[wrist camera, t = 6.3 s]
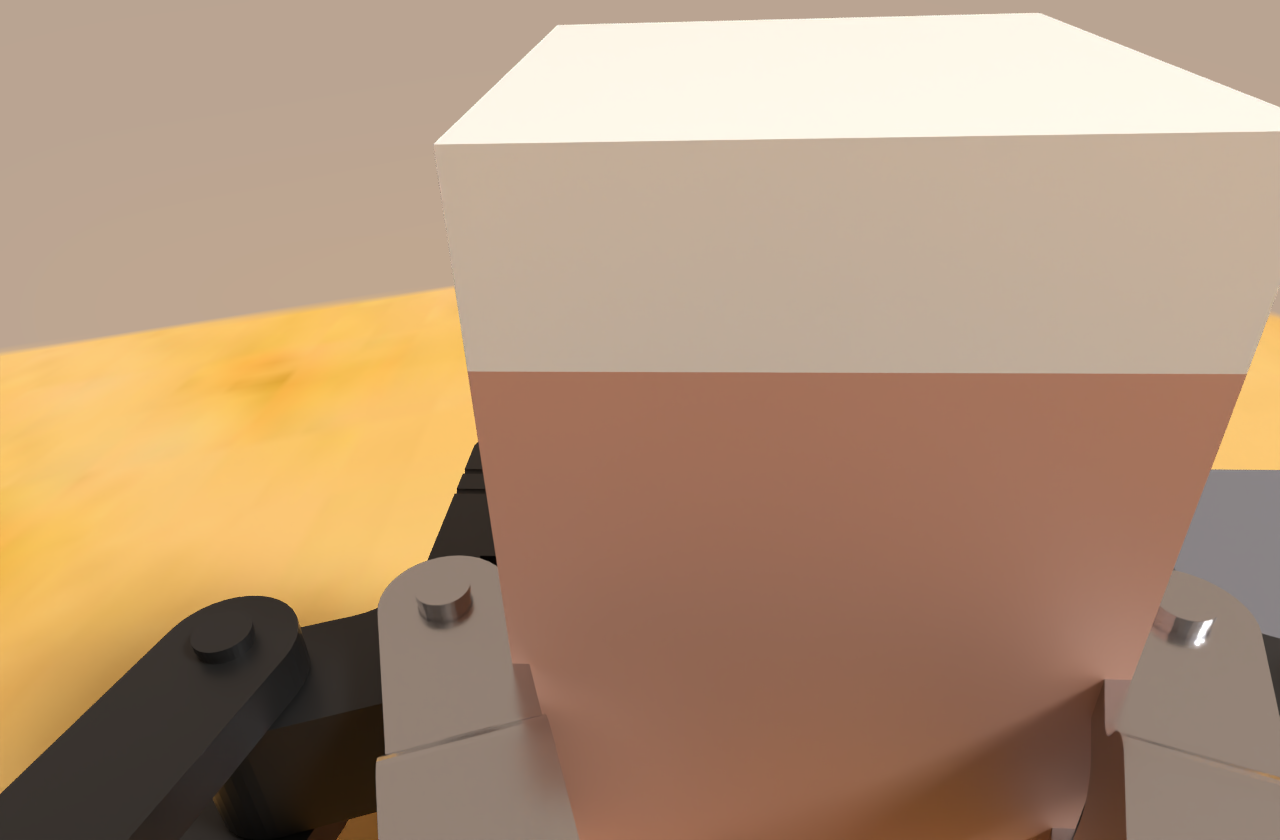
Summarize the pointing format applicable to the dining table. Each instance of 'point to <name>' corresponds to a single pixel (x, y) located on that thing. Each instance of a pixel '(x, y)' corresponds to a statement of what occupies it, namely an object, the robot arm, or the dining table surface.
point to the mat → (1239, 541)
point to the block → (847, 402)
